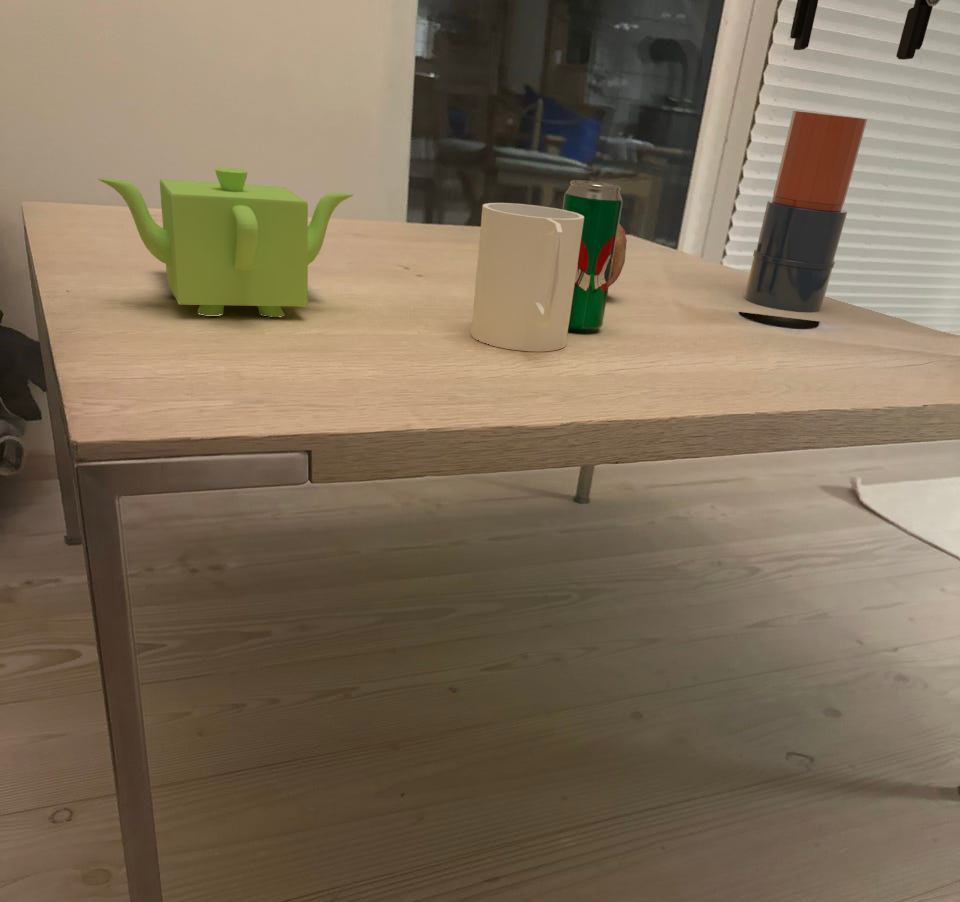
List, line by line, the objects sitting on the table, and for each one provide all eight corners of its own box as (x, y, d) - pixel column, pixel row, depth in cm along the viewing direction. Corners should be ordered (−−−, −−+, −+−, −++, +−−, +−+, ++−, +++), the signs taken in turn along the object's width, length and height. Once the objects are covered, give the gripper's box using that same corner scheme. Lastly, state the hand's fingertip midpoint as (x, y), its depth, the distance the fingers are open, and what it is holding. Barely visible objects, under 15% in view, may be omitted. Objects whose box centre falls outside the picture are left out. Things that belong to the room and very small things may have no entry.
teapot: (109, 305, 75) (93, 158, 69) (204, 282, 86) (197, 154, 80) (275, 337, 71) (273, 185, 66) (352, 309, 82) (355, 176, 77)
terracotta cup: (831, 206, 95) (855, 118, 91) (849, 214, 90) (875, 120, 85) (766, 198, 96) (787, 110, 91) (779, 205, 90) (802, 111, 86)
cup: (494, 362, 72) (509, 222, 66) (461, 324, 81) (472, 200, 76) (593, 366, 74) (615, 230, 68) (550, 328, 83) (566, 207, 78)
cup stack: (808, 315, 102) (838, 206, 96) (826, 332, 95) (860, 216, 89) (732, 306, 102) (758, 197, 96) (745, 322, 95) (773, 205, 89)
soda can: (592, 322, 88) (615, 182, 81) (608, 335, 83) (632, 189, 77) (541, 319, 86) (559, 177, 80) (554, 332, 82) (574, 184, 76)
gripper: (817, -210, 74) (766, 43, 83) (1035, -192, 73) (960, 61, 82) (796, -185, 80) (751, 47, 89) (997, -169, 80) (932, 63, 89)
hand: (852, 53), depth 86 cm, fingers open, 9 cm apart
